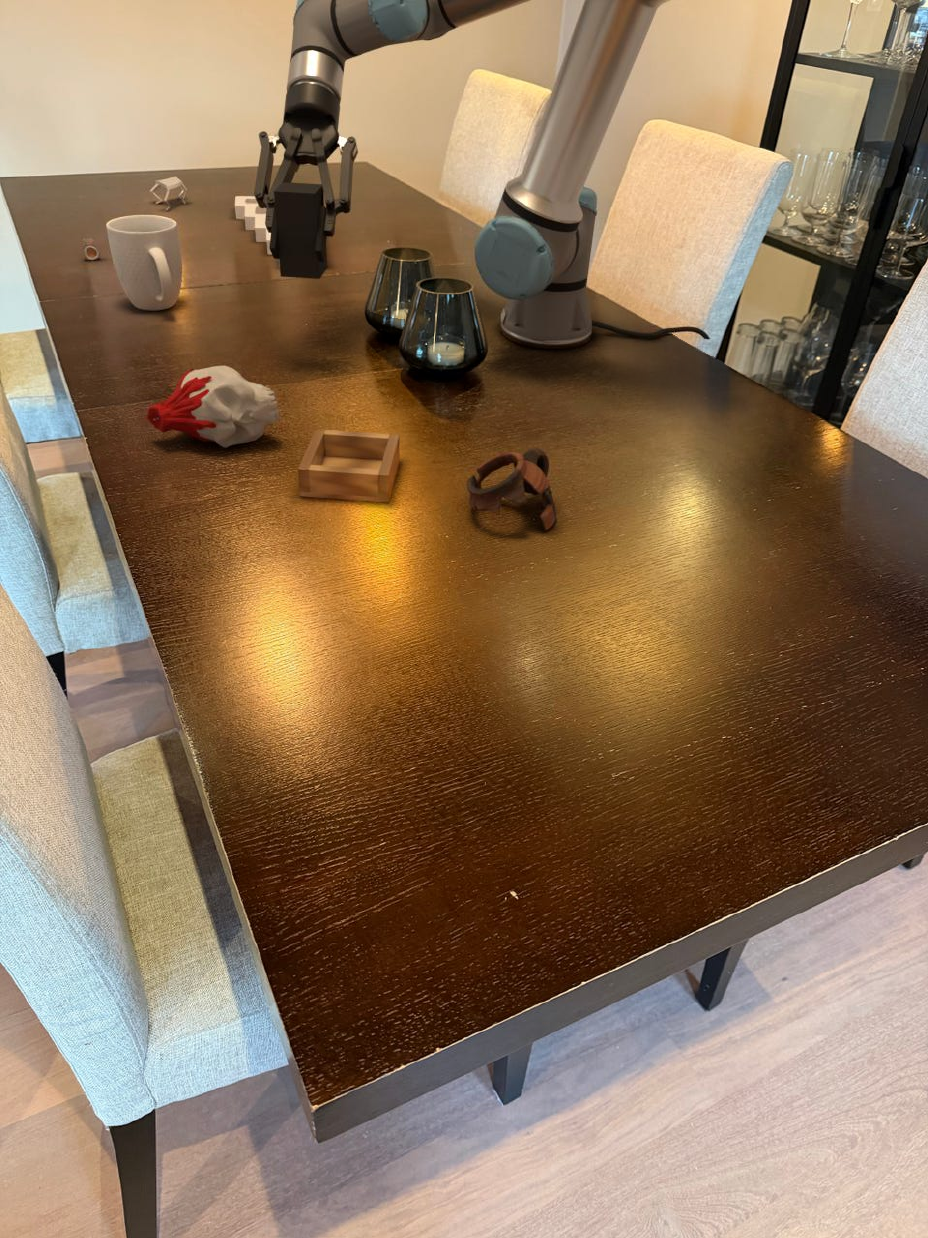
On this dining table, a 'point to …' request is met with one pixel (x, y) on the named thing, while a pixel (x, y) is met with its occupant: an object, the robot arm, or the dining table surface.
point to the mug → (147, 259)
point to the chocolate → (91, 251)
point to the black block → (298, 229)
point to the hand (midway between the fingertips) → (297, 254)
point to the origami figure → (169, 188)
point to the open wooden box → (349, 465)
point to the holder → (253, 218)
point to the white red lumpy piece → (216, 407)
